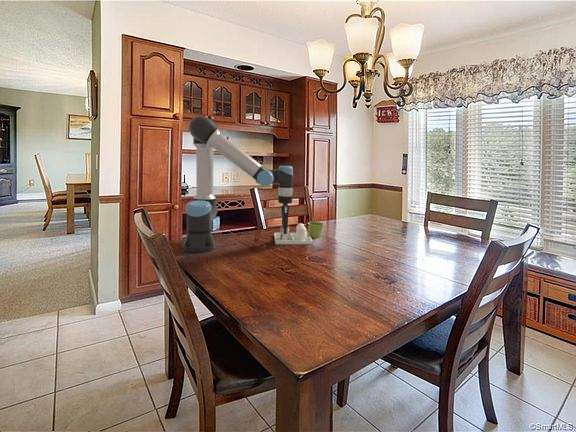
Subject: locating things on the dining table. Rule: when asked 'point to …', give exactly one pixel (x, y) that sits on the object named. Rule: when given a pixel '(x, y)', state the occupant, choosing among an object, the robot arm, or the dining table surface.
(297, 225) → the white egg far left
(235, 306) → the dining table surface
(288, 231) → the wooden egg
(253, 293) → the dining table surface
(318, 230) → the plant pot
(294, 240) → the caddy
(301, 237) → the white egg far right
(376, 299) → the dining table surface
